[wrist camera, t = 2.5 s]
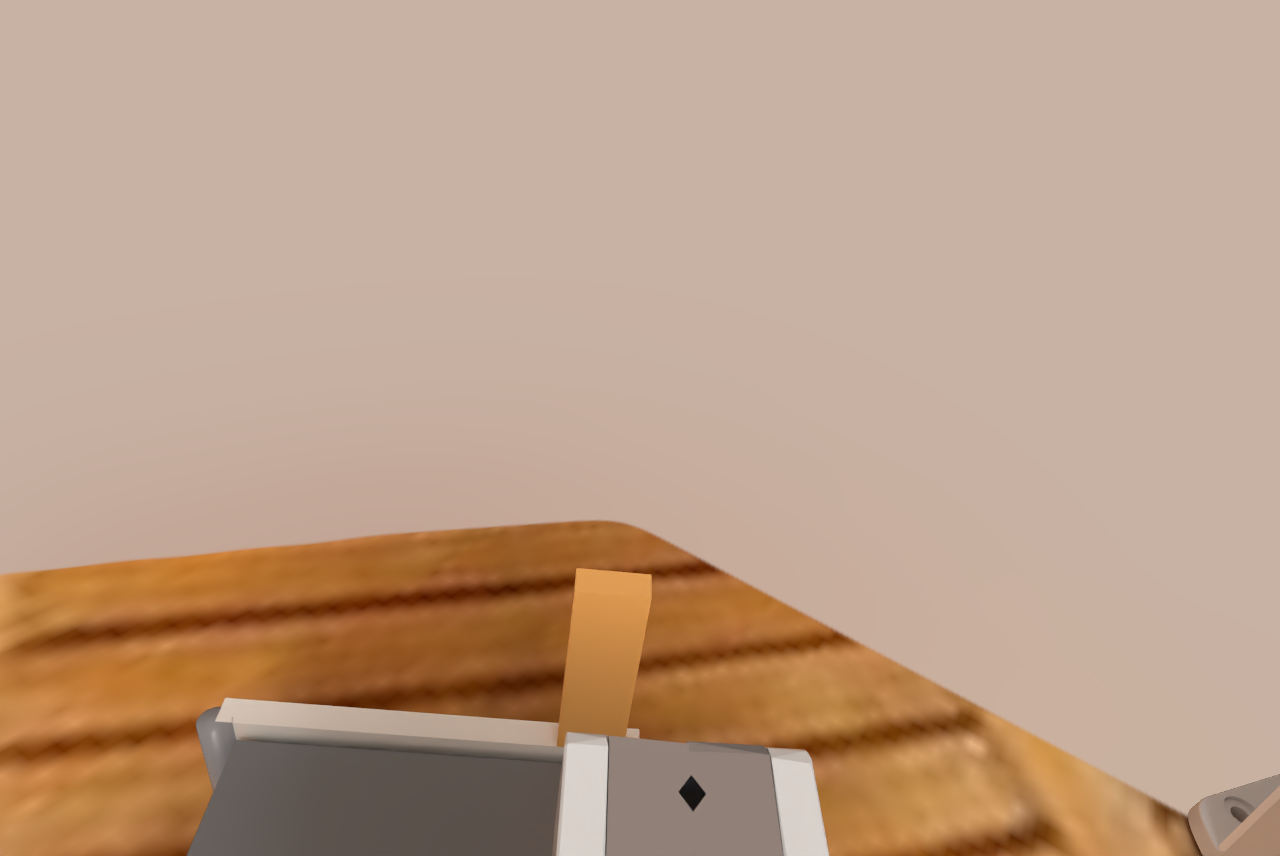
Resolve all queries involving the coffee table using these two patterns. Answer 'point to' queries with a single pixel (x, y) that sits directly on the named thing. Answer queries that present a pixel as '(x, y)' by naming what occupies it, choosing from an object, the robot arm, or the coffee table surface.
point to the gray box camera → (376, 804)
